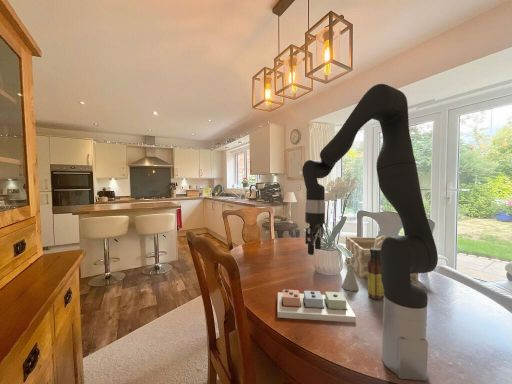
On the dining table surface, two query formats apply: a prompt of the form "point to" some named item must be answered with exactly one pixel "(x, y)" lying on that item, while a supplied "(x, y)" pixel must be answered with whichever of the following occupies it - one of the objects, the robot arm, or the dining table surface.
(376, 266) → the sauce bottle
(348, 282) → the flask
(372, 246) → the woven basket
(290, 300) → the tile three
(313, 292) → the tile two
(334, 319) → the board
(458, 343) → the dining table surface
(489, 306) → the dining table surface
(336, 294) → the tile one
